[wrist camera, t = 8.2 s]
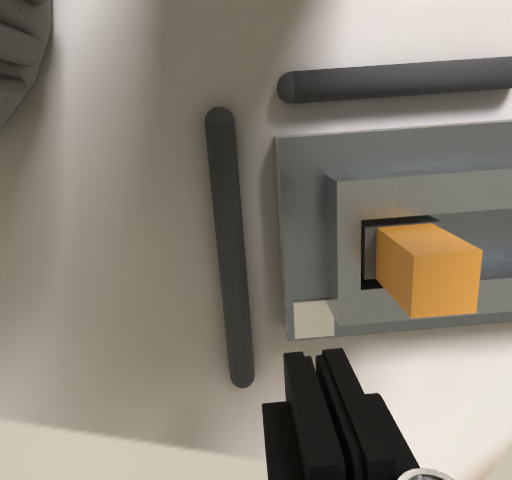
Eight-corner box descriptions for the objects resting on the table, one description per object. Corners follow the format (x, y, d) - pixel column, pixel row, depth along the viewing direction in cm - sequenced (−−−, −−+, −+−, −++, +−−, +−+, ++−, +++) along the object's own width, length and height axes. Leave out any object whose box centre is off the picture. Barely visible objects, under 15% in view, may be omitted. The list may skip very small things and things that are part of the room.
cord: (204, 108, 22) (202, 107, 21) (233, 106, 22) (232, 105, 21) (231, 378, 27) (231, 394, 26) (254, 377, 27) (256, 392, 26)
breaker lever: (353, 218, 22) (399, 257, 16) (425, 213, 22) (497, 249, 16) (353, 266, 23) (396, 319, 17) (422, 260, 23) (490, 311, 17)
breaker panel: (274, 136, 23) (283, 140, 18) (615, 112, 23) (700, 110, 19) (284, 324, 26) (293, 363, 22) (580, 299, 27) (645, 333, 22)
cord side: (276, 105, 22) (279, 103, 21) (274, 74, 22) (277, 70, 20) (515, 88, 23) (535, 86, 21) (518, 57, 22) (539, 52, 21)
